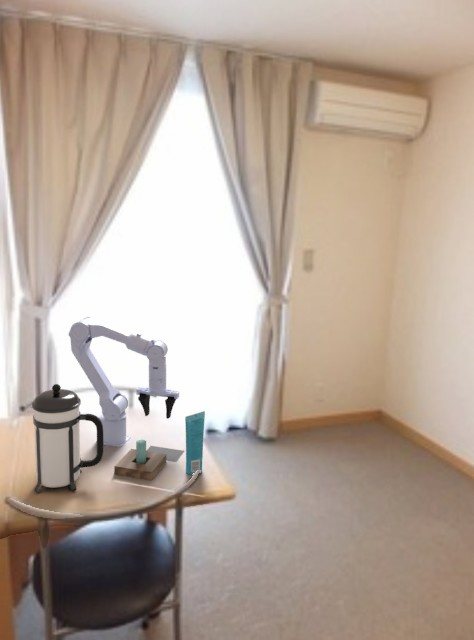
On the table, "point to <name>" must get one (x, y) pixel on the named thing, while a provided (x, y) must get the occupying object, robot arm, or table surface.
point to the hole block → (140, 465)
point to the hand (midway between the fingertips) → (157, 416)
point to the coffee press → (60, 438)
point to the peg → (141, 452)
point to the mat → (167, 452)
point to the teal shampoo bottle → (194, 442)
